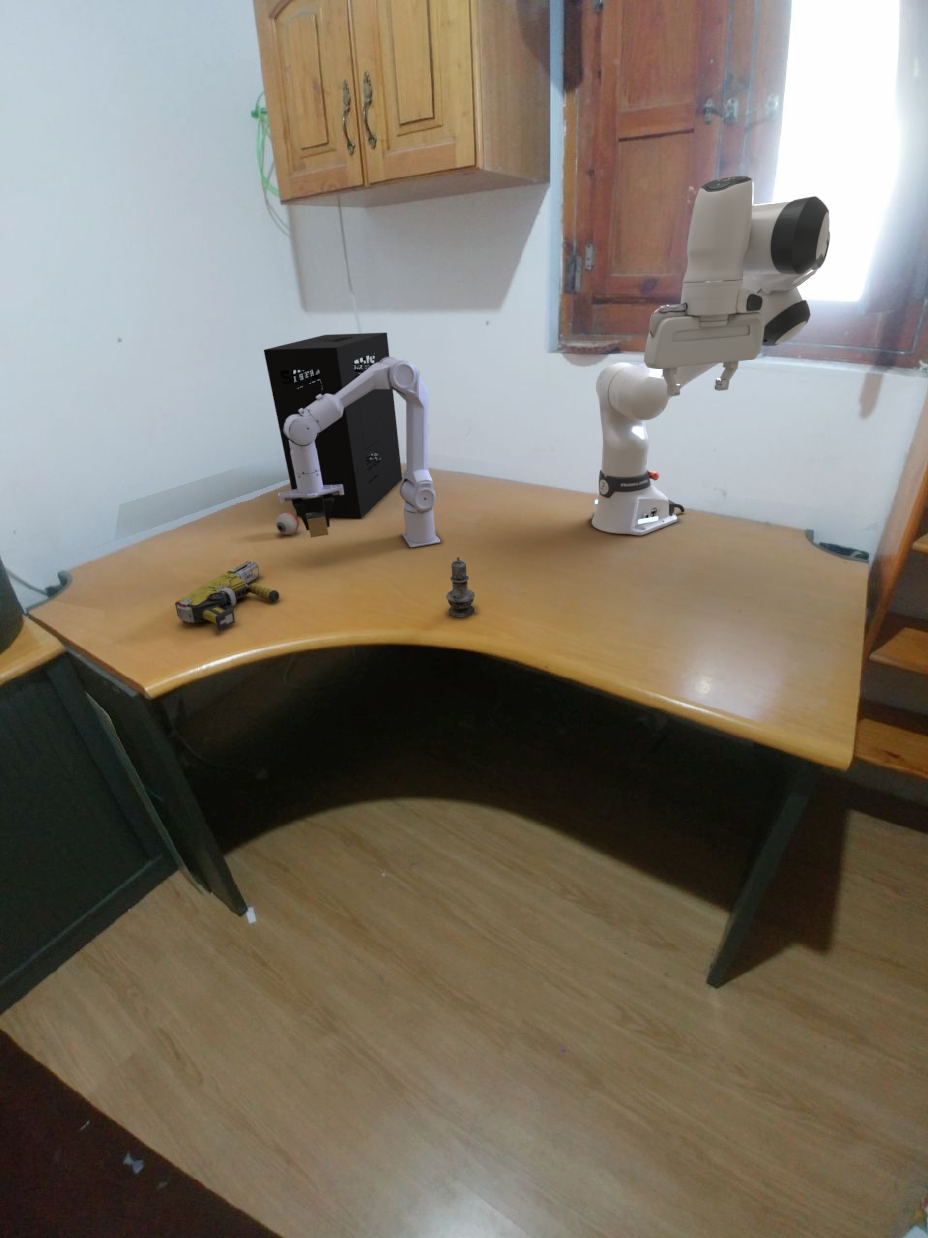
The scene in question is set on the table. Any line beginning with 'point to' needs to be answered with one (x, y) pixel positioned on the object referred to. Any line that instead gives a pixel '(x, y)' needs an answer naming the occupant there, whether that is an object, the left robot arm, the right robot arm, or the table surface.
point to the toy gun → (222, 597)
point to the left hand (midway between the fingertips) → (317, 527)
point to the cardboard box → (351, 435)
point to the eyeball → (287, 523)
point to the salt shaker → (460, 591)
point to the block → (317, 524)
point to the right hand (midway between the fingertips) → (697, 392)
